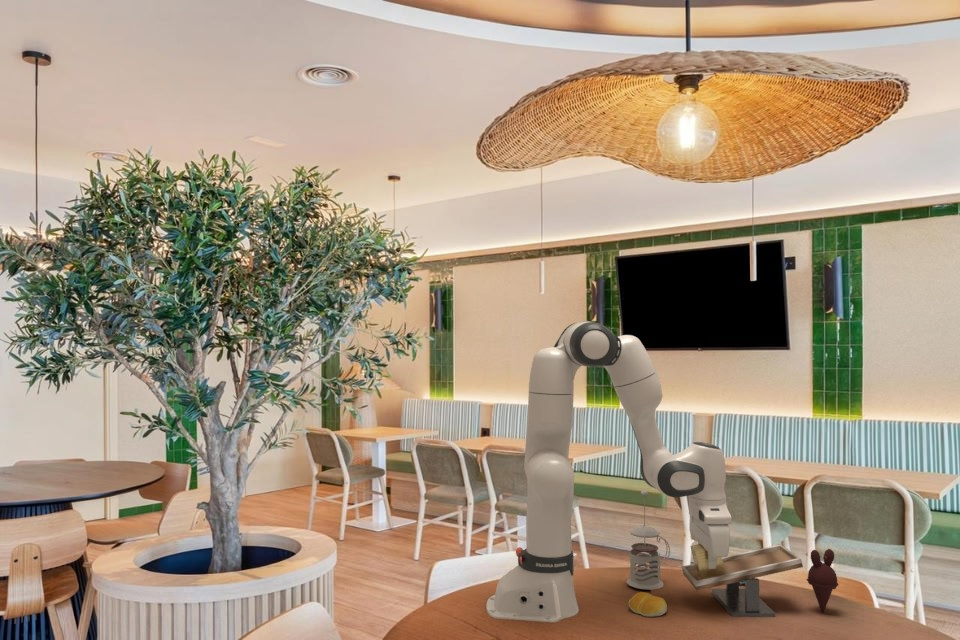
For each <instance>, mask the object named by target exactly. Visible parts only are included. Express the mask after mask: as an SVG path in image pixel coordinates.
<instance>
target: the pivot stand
mask: <svg viewBox="0 0 960 640" xmlns="http://www.w3.org/2000/svg"><path fill="white" fill-rule="evenodd" d="M711 594H712V596H713V597H714V598H715V599H716V600H717V602H718V603H719V604H720V605H721V606H722V607H723V608H724V610H726V612H727V613H728V614H729V615H730V616H731V617H733V618H776V616H777V615H776V612H775V611H774V610H773V609H772V608H771V607H769V605H767V603H766V602H764V601H763V599H762V598H760V578H759V577H757V578H745V583H744V588H740V582H734V583H730V584H725V588H711Z"/></svg>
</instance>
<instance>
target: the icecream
mask: <svg viewBox="0 0 960 640" xmlns="http://www.w3.org/2000/svg"><path fill="white" fill-rule="evenodd" d="M810 560H811V563H812V565H811V567H810V568H809V570H808V574H807V578H806V582H807V583H808V585H811V587H812V590H813V592H814V595H815V597H816V600H817V604H818V607H819V609H820V611H821V612H823V613H824V612H825V610H826V607H827V605H828V602H829V600H830V597H831V595H832V592H833V590H836V589H837V587H838V586H839V583H838V576H837V573H836V571H835V569H834V568H833V567H832V564H833V561H834V560H835V553H834V550H832V549H831V548H828V549H826V550H825V551H824V554H823V557H822V560H823V562H822V560H821V556H820V553H819V551H818V550H816V549H812V550H811V552H810Z"/></svg>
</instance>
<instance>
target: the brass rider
mask: <svg viewBox="0 0 960 640" xmlns="http://www.w3.org/2000/svg"><path fill="white" fill-rule="evenodd" d="M690 550H691V554H692V559H693V562H694V563H693V564H695V568H696V572H697V574H698V575H699V577H700V578H701V579H703V578H708V577H712V576H717V575H721V574H725V569H724V565H723V561H722V557H718V558H717V561H716V568H715V569H710V568H709V567H708V566H707V560H708V551H707V550H706V549H705V548H704V547H703V546H702V545H701V544H698V543H697V544H693V545H690Z"/></svg>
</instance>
